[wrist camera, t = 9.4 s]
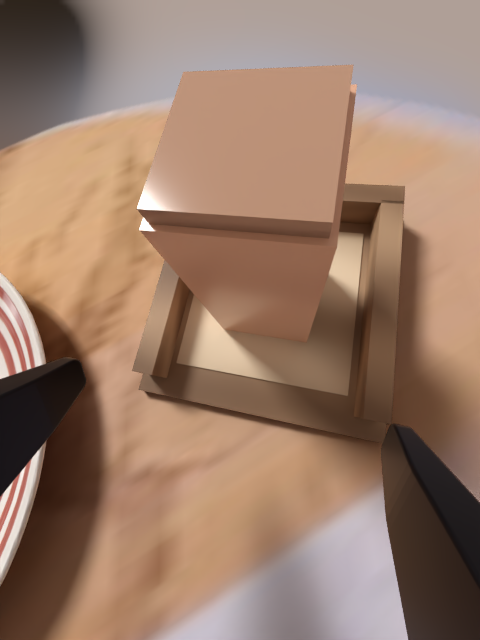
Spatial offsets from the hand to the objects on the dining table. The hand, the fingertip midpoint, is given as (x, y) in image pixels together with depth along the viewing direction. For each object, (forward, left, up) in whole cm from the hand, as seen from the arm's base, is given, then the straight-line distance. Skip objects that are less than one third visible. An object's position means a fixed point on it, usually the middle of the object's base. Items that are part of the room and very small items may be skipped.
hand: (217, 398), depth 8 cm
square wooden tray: (+6, -2, -9) cm, 11 cm away
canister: (+6, -2, -8) cm, 10 cm away
